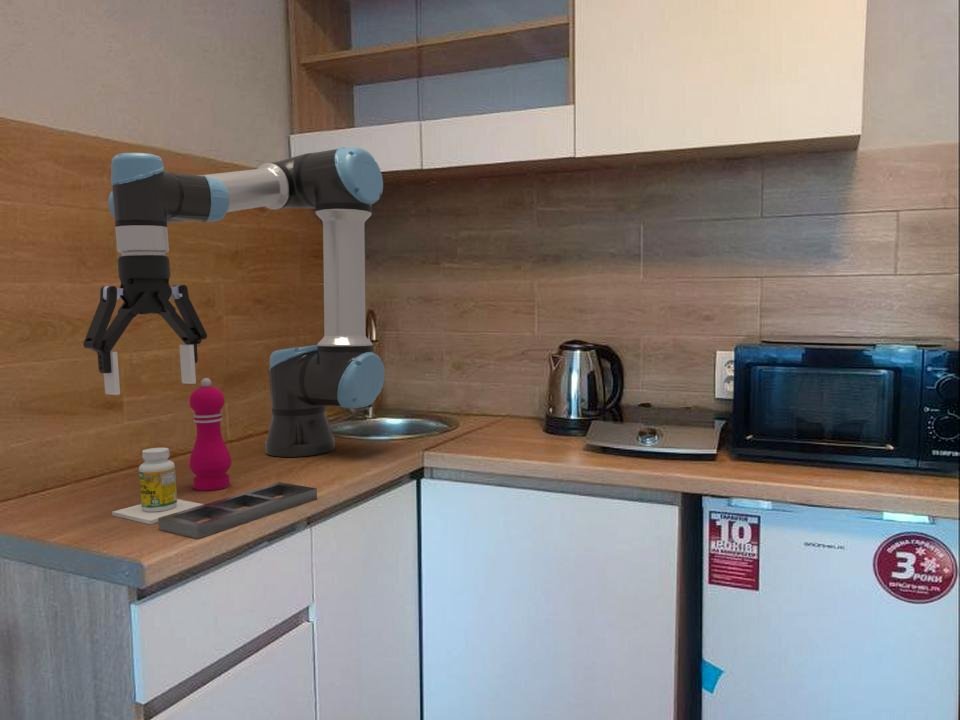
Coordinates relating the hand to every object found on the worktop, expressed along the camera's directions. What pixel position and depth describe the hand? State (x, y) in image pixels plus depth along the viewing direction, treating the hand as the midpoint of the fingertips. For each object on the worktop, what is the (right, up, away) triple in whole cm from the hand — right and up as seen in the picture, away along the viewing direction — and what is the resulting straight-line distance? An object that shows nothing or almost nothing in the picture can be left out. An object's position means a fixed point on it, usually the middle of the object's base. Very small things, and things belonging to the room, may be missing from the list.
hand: (152, 388), depth 122 cm
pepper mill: (+3, -19, +17) cm, 26 cm away
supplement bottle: (0, -20, +2) cm, 20 cm away
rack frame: (+15, -20, 0) cm, 25 cm away
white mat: (0, -20, +2) cm, 20 cm away
